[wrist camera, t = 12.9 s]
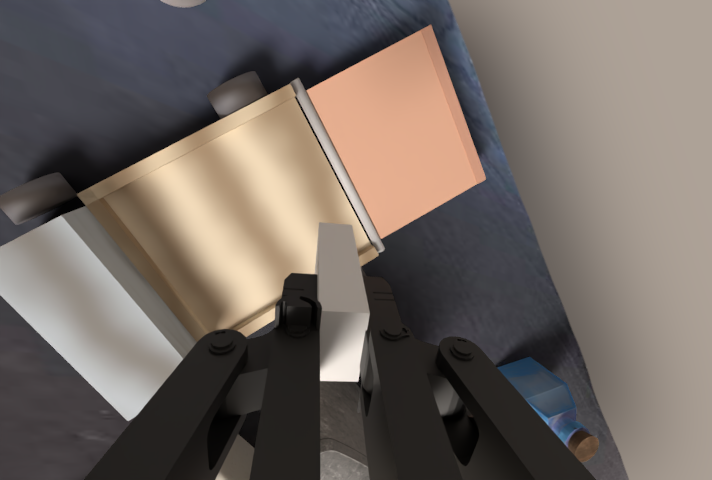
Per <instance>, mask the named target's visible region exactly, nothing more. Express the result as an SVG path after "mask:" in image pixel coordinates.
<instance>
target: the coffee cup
mask: <svg viewBox="0 0 712 480" xmlns="http://www.w3.org/2000/svg"><path fill="white" fill-rule="evenodd" d="M160 1H162V2H164V3H166V4H169V5H172V6H176V7H193V6H197V5H200V4H202V3H203V2H205V1H206V0H160Z"/></svg>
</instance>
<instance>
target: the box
mask: <svg viewBox="0 0 712 480" xmlns="http://www.w3.org/2000/svg"><path fill="white" fill-rule="evenodd" d="M254 449H255V448H254V447H252V446H251V445H250V444H249V443H248V442H247V441H246V440H244V439H243V438H242V437H241V436H240V435H239V434H238V435H237V437H236V439H235V441H234V443H233V445H232V447H231V449H230V451H229V453H228V455H227V457H226V459H225V461H224V463H223V465H222V467H221V469H220V471H219V473H218V475H217V477H216V479H215V480H249V479H250V473H251V467H252V461H253V455H254Z"/></svg>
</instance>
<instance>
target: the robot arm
mask: <svg viewBox="0 0 712 480" xmlns="http://www.w3.org/2000/svg"><path fill="white" fill-rule="evenodd" d="M360 373H361V380H362V383H361V389H360V394H359V400H358V406H357V413H360V410H361V411H362V420H363V428H364V437H365V445H366V454H367V462H368V471H369V479H370V480H596V479H595V478H594V477H593V476H592V475H591V473H590V472H589V471H588V470H587V469H586V468H585V467H584V465H583V464H582V463H581V462H580V461H579V460H578V459H577V458H576V456H575V455H574V454H573V453H572V452H571V451H570V450H569V448H568V447H567V446H566V445H565V444H564V443H563V442H562V441H561V439H560V438H559V437H558V436H557V435H556V434H555V433H554V431H553V430H552V429H551V428H550V427H549V426H548V425H547V424H546V422H545V421H544V420H543V419H542V418H541V417H540V416H539V415H538V413H537V412H536V411H535V410H534V409H533V408H532V407H531V405H530V404H529V403H528V402H527V401H526V400H525V399H524V398H523V396H522V395H521V394H520V393H519V392H518V391H517V390H516V388H515V387H514V386H513V385H512V384H511V383H510V382H509V381H508V379H507V378H506V377H505V376H504V375H503V374H502V373H501V371H500V370H499V369H498V368H497V367H496V366H495V365H494V364H493V362H492V361H491V360H490V359H489V358H488V357H487V356H486V354H485V353H484V352H483V351H482V350H481V349H480V348H479V347H478V346H477V345H476V344H474V343H473V342H471V341H469V340H467V339H464V338H460V337H447V338H444V339H443V340H442V341H441V342H440V344H439V346H436V345H432V344H429V343H425V342H422V341H419V340H417V339H415V338H414V336H413V333H412V332H411V330H410V329H409V328H408V327H407V326H405V325H404V324H402V322H401V319H400V315H399V312H398V309H397V306H396V303H395V301H394V297H393V295H392V290H391V287H390V285H389V284H388V283H387V282H386V281H385V280H384V279H383V278H382V277H369V276H362V272H361V267H360V262H359V257H358V252H357V247H356V242H355V237H354V232H353V227H352V225H347V224H335V223H322V222H319V228H318V240H317V251H316V263H315V274H303V273H291V274H290V275H289V276H288V277H287V278H286V279H285V280H284V286H283V292H282V298H281V299H280V300H278V302H277V303H276V305H275V328H274V329H273V330H272V331H270V332H269V333H267V334H265V335H263V336H260V337H256V338H251V339H246V337H245V336H244V335H243V334H242V333H241V332H238V331H236V330H233V329H221V330H215V331H212V332H210V333H208V334H205V335H204V336H203V337H202V338H201V339H200V340H199V341H198V342H197V343H196V344H195V345H194V347H193V348H192V349H191V350H190V351H189V353H188V354H187V355H186V356H185V358H184V359H183V360H182V361H181V362H180V364H179V365H178V366H177V367H176V369H175V370H174V371H173V372H172V373H171V375H170V376H169V377H168V378H167V379H166V381H165V382H164V383H163V384H162V386H161V387H160V388H159V389H158V390H157V392H156V393H155V394H154V395H153V396H152V398H151V399H150V400H149V401H148V403H147V404H146V405H145V406H144V407H143V409H142V410H141V411H140V412H139V414H138V415H137V416H136V417H135V418H134V420H133V421H132V422H131V423H130V424H129V426H128V427H127V428H126V429H125V431H124V432H123V433H122V434H121V435H120V437H119V438H118V439H117V440H116V441H115V443H114V444H113V445H112V446H111V448H110V449H109V450H108V451H107V452H106V454H105V455H104V456H103V457H102V459H101V460H100V461H99V462H98V463H97V465H96V466H95V467H94V468H93V469H92V471H91V472H90V473H89V474H88V476H87V477H86V478H85V479H84V480H215V479H216V477H217V475H218V473H219V471H220V469H221V467H222V465H223V463H224V461H225V459H226V457H227V455H228V453H229V451H230V449H231V447H232V445H233V443H234V441H235V439H236V437H237V435H238V433H239V431H240V429H241V427H242V425H243V423H244V421H245V419H246V416H247V413H250V412H253V411H257V410H260V409H261V413H260V419H259V425H258V431H257V437H256V443H255V449H254V455H253V461H252V467H251V473H250V479H249V480H320V381H347V382H358V380H359V374H360Z"/></svg>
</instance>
